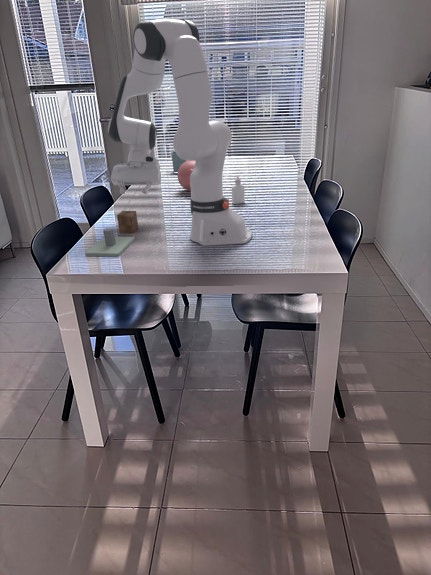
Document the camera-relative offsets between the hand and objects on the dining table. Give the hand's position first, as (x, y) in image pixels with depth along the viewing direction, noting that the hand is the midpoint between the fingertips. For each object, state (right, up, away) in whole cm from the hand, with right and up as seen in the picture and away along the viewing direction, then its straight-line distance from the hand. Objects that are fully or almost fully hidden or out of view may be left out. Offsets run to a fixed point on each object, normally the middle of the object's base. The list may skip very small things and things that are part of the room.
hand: (133, 193), depth 169 cm
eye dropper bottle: (+43, +1, +25) cm, 50 cm away
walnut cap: (-1, -15, -3) cm, 15 cm away
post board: (-4, -23, -19) cm, 30 cm away
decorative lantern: (+22, +11, +47) cm, 53 cm away
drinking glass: (+11, +33, +93) cm, 99 cm away
